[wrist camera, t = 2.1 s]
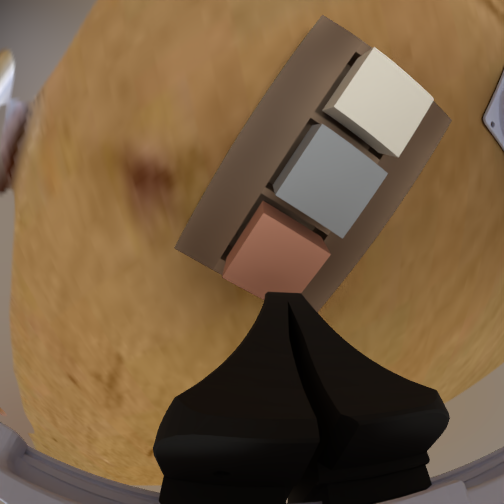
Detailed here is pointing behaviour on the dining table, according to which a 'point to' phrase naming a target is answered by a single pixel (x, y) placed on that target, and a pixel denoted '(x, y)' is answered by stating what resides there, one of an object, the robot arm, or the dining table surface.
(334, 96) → the cream key
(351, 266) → the key block
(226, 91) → the dining table surface
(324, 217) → the slate key
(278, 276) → the terracotta key
